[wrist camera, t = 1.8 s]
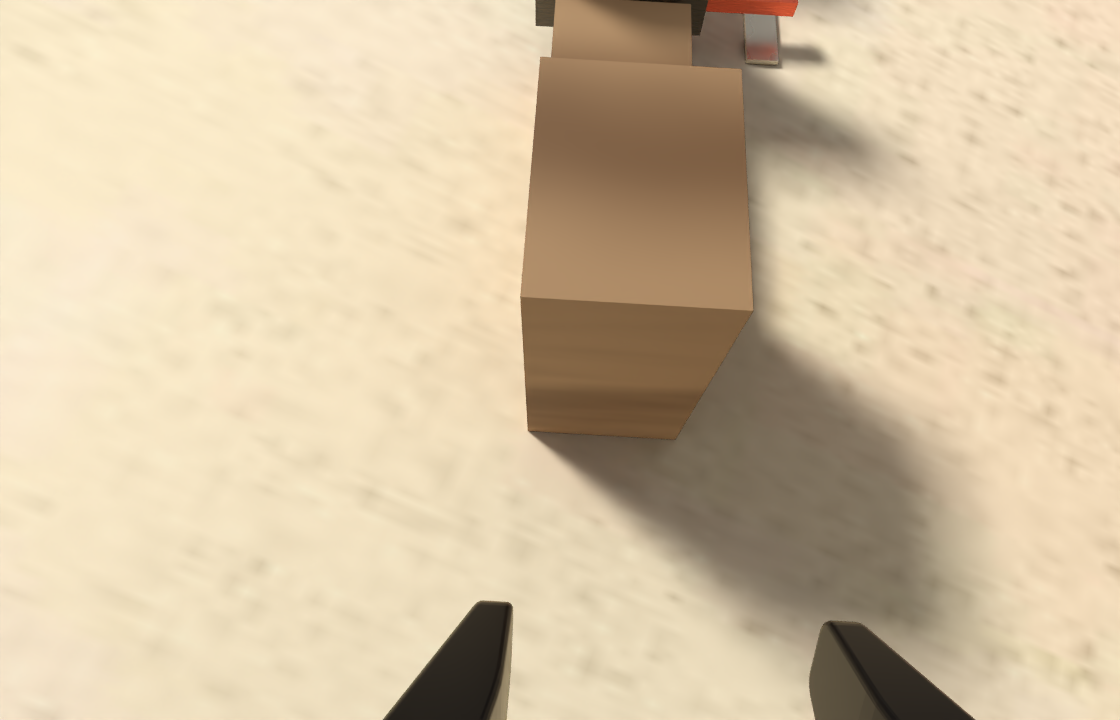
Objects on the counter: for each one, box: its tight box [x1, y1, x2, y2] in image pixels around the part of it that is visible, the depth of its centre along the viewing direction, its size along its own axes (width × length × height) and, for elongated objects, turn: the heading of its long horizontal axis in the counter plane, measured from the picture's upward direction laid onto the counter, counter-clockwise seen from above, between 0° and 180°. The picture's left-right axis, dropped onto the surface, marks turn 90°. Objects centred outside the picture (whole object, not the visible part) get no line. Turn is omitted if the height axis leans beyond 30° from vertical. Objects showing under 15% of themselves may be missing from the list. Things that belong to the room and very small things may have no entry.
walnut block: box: [520, 0, 753, 440], centre depth 21 cm, size 14×4×9 cm, turn 177°
